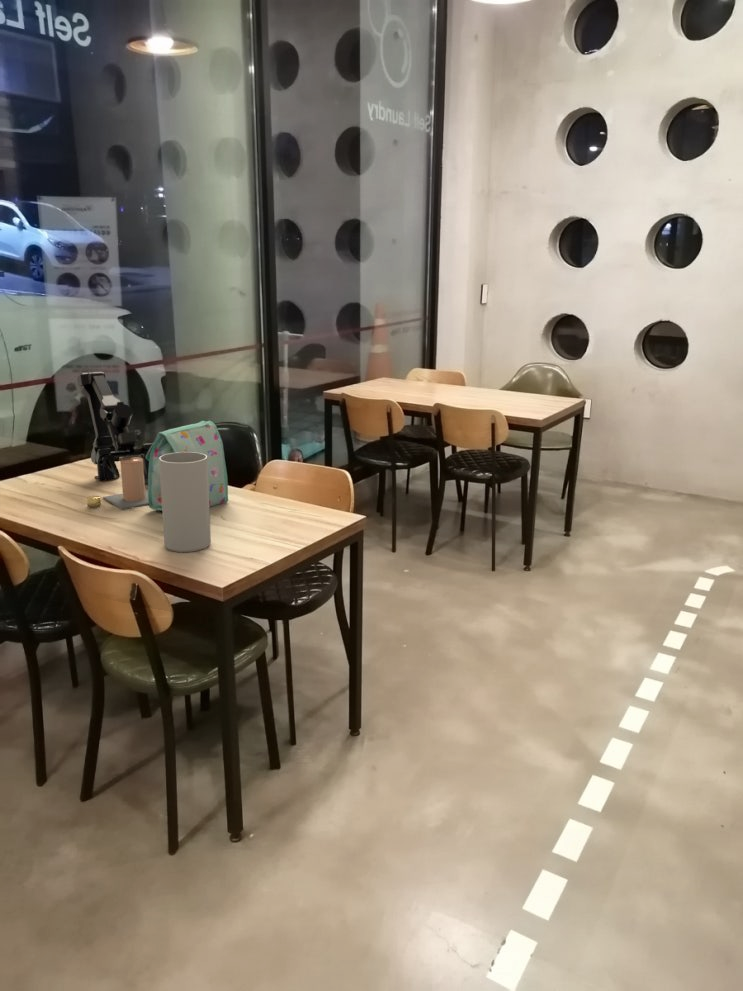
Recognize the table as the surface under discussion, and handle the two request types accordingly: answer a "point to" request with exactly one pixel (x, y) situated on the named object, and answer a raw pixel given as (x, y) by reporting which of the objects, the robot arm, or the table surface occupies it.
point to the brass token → (93, 501)
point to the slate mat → (124, 504)
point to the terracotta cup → (133, 479)
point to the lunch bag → (189, 440)
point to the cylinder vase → (185, 501)
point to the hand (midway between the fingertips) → (133, 475)
